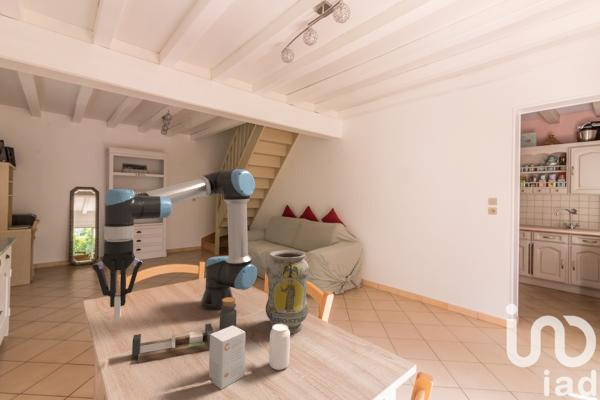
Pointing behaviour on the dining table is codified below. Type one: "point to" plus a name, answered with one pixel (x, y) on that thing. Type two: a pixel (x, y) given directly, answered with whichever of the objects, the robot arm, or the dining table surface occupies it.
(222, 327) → the bottle
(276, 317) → the vase
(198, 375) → the dining table surface
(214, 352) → the small box
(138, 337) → the grey sliding carriage
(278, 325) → the beverage can
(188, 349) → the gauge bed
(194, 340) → the cream cube
